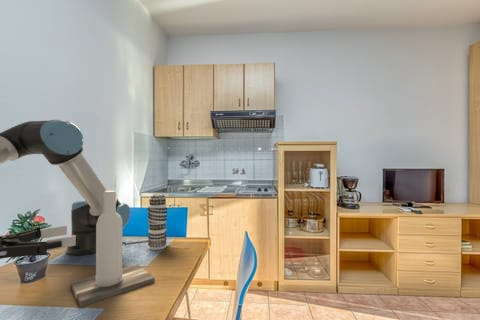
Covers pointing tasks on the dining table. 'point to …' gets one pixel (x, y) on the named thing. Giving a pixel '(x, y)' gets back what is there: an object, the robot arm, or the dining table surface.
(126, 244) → the wooden handled claw tool
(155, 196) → the decorative candle
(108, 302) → the dining table surface
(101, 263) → the bottle
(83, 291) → the subfloor panel
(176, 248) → the dining table surface
